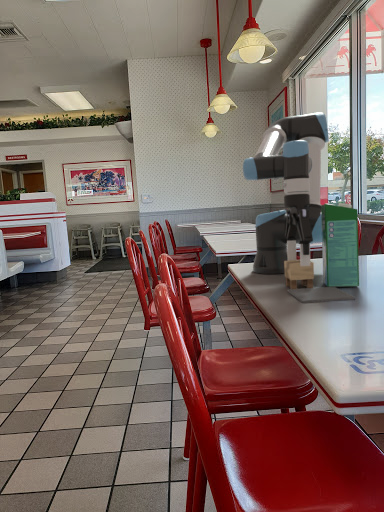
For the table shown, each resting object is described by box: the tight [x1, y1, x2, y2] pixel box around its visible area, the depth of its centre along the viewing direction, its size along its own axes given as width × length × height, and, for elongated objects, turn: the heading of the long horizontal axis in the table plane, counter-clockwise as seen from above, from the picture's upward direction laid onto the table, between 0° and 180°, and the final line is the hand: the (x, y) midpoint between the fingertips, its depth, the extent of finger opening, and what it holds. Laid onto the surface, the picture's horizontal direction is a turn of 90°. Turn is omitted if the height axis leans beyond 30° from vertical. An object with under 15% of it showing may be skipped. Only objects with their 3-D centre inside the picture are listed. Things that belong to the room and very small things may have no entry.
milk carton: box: [321, 202, 360, 288], centre depth 118 cm, size 9×9×25 cm
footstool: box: [284, 259, 315, 289], centre depth 119 cm, size 7×7×8 cm
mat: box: [287, 286, 356, 304], centre depth 108 cm, size 14×14×1 cm
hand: (298, 263), depth 118 cm, fingers open, 13 cm apart
